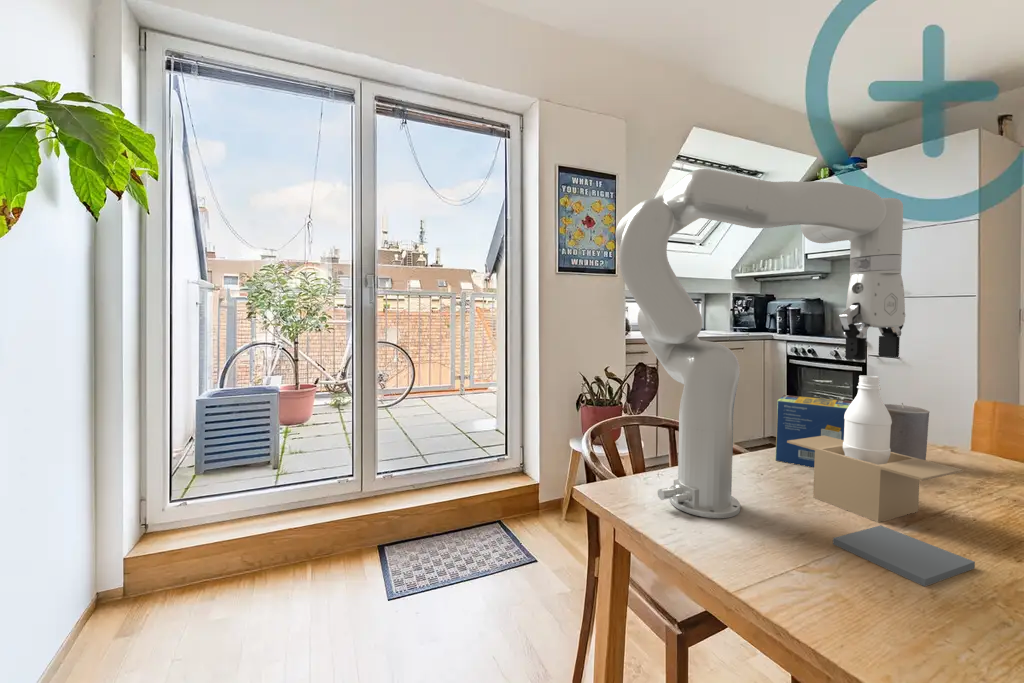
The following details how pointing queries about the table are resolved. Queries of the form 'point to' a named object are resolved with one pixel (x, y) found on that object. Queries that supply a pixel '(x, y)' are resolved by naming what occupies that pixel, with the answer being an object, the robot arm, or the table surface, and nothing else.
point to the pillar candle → (908, 430)
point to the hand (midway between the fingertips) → (872, 358)
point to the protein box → (806, 425)
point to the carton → (869, 480)
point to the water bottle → (867, 424)
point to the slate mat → (904, 555)
